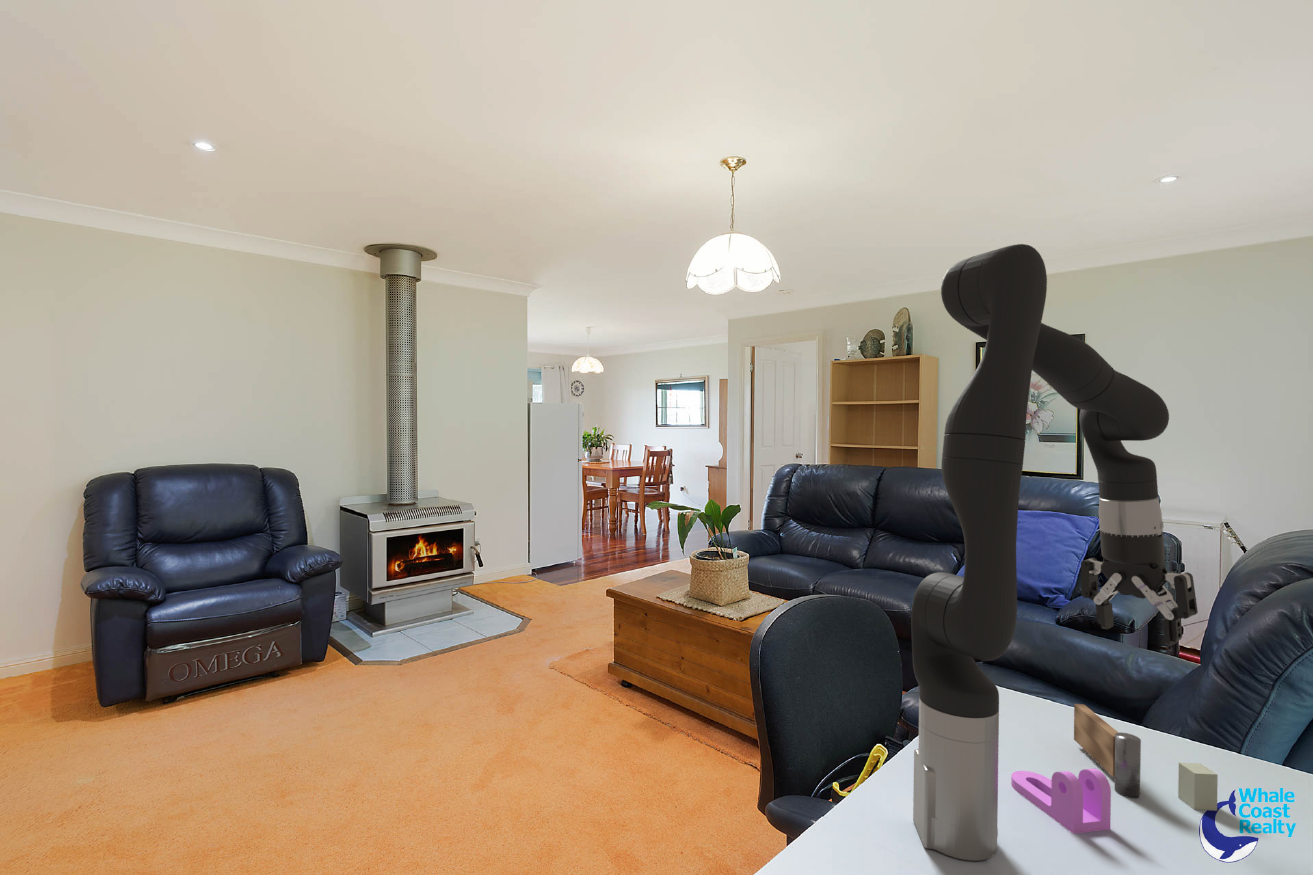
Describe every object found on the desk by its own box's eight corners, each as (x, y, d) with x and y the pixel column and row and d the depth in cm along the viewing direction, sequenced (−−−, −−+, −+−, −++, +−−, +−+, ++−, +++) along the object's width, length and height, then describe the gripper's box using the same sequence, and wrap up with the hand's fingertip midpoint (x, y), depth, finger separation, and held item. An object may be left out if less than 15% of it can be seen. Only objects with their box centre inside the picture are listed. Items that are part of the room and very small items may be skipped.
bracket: (1110, 830, 84) (1111, 777, 84) (1073, 834, 83) (1074, 780, 83) (1035, 778, 97) (1035, 732, 97) (1002, 781, 96) (1003, 734, 96)
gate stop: (1194, 809, 89) (1194, 773, 89) (1178, 797, 92) (1178, 762, 92) (1217, 810, 89) (1217, 774, 89) (1200, 798, 92) (1200, 763, 92)
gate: (1124, 777, 96) (1124, 737, 96) (1112, 776, 96) (1113, 736, 96) (1083, 740, 107) (1084, 704, 107) (1073, 739, 108) (1074, 703, 108)
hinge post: (1121, 796, 92) (1122, 740, 92) (1110, 785, 95) (1110, 731, 95) (1144, 798, 92) (1145, 742, 92) (1132, 787, 95) (1133, 733, 95)
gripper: (1065, 526, 99) (1073, 629, 100) (1173, 538, 87) (1181, 656, 87) (1094, 518, 103) (1101, 617, 104) (1201, 528, 90) (1209, 642, 91)
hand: (1138, 635), depth 96 cm, fingers open, 8 cm apart
